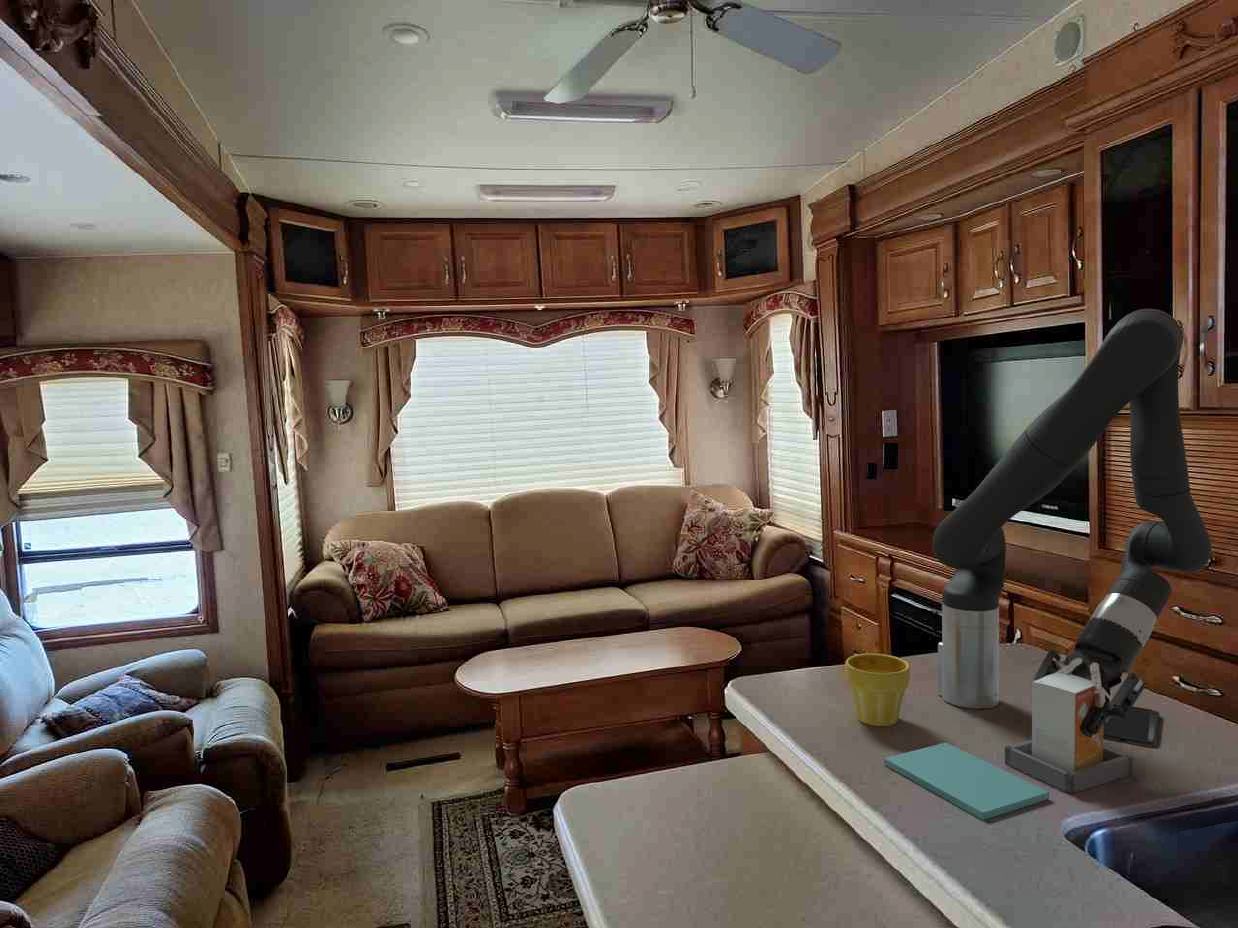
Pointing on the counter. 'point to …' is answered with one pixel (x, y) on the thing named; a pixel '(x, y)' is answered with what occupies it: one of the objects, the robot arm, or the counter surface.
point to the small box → (1064, 722)
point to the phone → (1133, 727)
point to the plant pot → (877, 687)
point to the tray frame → (1069, 782)
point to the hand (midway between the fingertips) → (1060, 723)
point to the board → (966, 780)
